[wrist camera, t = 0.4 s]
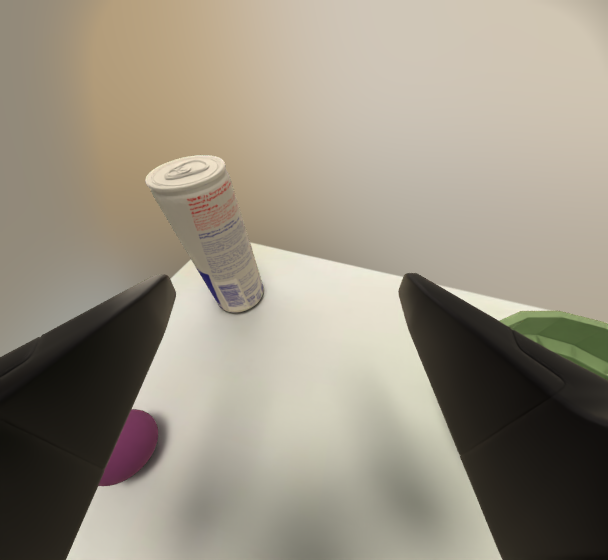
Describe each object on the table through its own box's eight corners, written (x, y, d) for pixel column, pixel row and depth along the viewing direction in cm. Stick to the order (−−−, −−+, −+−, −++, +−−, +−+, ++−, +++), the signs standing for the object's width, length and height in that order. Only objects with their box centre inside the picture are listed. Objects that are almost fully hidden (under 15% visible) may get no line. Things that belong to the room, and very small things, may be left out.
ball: (154, 486, 16) (111, 488, 13) (96, 483, 17) (40, 485, 13) (177, 416, 19) (147, 403, 16) (128, 415, 19) (89, 402, 16)
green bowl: (742, 569, 13) (980, 621, 8) (494, 555, 13) (582, 596, 9) (567, 345, 21) (634, 309, 17) (423, 345, 22) (449, 311, 17)
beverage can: (269, 279, 29) (235, 152, 18) (257, 316, 25) (206, 187, 14) (227, 276, 30) (169, 153, 18) (210, 312, 26) (125, 186, 15)
